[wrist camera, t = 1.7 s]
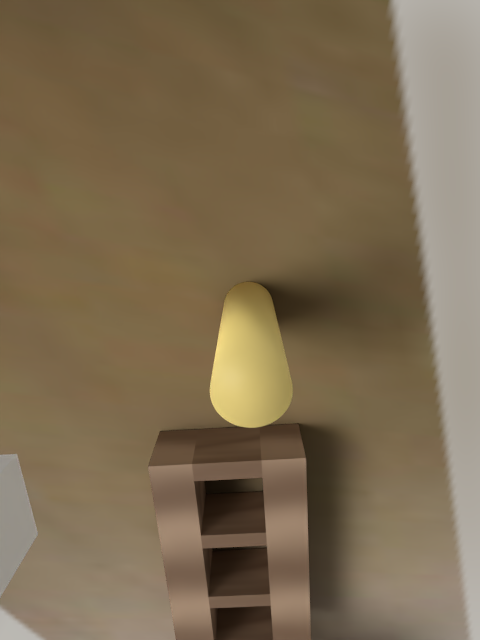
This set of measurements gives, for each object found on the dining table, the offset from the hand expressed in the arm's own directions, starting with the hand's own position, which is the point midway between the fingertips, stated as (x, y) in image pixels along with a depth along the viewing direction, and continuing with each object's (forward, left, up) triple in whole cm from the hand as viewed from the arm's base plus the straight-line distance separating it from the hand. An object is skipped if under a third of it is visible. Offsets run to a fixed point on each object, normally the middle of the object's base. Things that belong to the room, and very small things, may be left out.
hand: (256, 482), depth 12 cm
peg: (0, 0, -17) cm, 17 cm away
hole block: (+18, -2, -17) cm, 25 cm away
